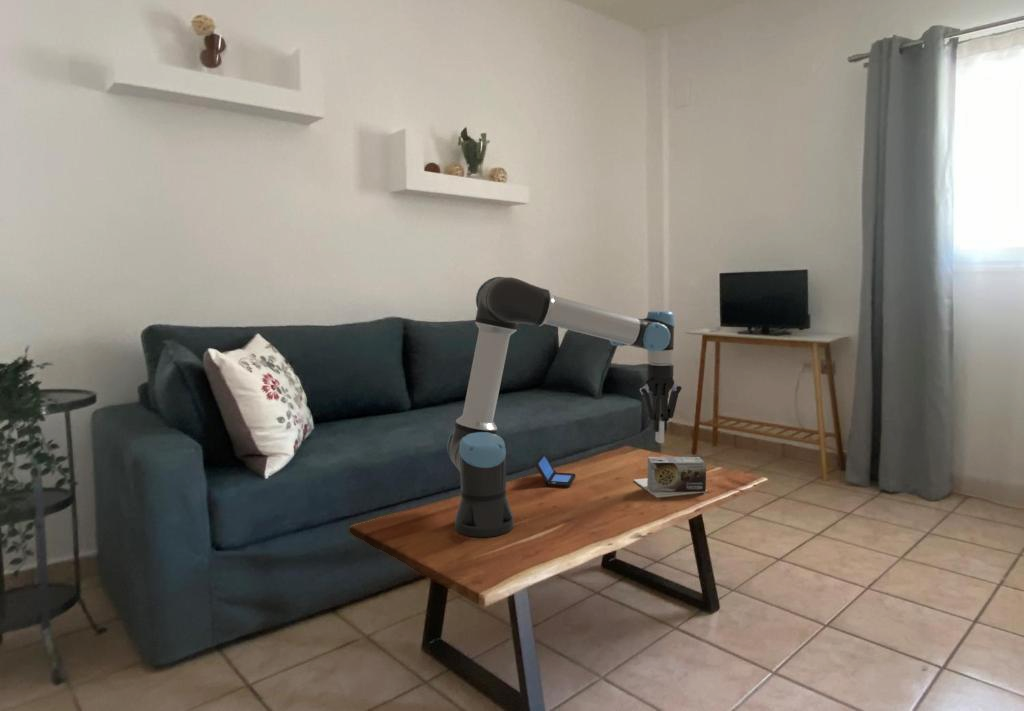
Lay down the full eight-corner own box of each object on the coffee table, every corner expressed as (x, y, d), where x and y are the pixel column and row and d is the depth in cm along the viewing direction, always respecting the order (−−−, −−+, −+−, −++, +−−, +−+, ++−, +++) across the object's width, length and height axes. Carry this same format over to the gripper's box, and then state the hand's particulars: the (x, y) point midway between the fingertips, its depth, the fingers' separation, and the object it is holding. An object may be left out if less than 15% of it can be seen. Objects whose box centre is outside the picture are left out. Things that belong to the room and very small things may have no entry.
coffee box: (646, 485, 201) (701, 485, 201) (650, 492, 195) (706, 492, 194) (647, 455, 200) (701, 456, 199) (651, 462, 194) (707, 462, 193)
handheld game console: (569, 489, 202) (569, 465, 201) (534, 486, 204) (534, 463, 203) (576, 476, 214) (576, 454, 213) (543, 474, 216) (543, 452, 215)
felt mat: (656, 497, 192) (656, 495, 192) (633, 481, 207) (633, 479, 207) (707, 492, 196) (707, 490, 195) (680, 476, 211) (680, 474, 211)
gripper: (674, 360, 201) (673, 437, 204) (634, 363, 198) (634, 440, 201) (686, 364, 194) (685, 443, 197) (645, 366, 191) (645, 447, 194)
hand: (659, 442), depth 199 cm, fingers closed
